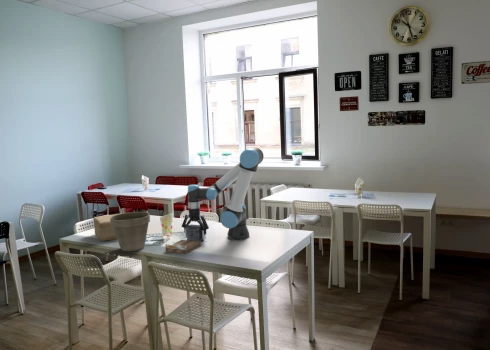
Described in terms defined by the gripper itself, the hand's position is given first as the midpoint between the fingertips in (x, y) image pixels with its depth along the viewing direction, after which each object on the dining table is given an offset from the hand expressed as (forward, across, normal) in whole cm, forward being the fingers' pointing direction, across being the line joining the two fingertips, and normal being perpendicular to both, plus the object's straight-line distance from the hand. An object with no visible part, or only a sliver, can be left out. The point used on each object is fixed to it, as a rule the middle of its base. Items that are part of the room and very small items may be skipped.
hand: (195, 238), depth 281 cm
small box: (+2, 0, 0) cm, 2 cm away
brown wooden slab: (+2, -2, +18) cm, 18 cm away
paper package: (+2, +65, +5) cm, 65 cm away
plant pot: (+2, +31, +28) cm, 42 cm away
